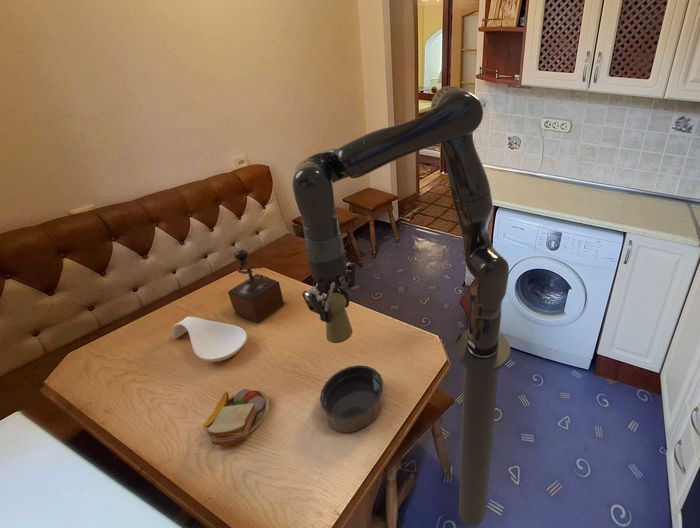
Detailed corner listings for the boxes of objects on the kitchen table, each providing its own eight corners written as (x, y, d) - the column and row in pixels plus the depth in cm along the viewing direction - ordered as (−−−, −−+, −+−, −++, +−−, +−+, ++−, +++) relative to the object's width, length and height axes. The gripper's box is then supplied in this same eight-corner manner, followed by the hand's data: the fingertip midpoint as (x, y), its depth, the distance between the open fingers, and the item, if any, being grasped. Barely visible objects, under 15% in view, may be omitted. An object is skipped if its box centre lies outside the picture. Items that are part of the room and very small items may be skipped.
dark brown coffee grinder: (287, 303, 118) (276, 257, 111) (257, 324, 109) (244, 276, 101) (253, 290, 123) (241, 246, 116) (223, 310, 114) (207, 263, 107)
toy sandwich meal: (280, 393, 88) (276, 380, 86) (250, 450, 76) (245, 436, 74) (229, 393, 88) (224, 379, 86) (190, 449, 75) (184, 435, 73)
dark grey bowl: (350, 371, 94) (348, 357, 92) (395, 391, 89) (394, 377, 87) (309, 418, 82) (306, 403, 80) (358, 444, 77) (356, 429, 75)
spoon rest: (258, 342, 102) (253, 323, 100) (220, 374, 92) (213, 354, 89) (199, 321, 109) (193, 302, 106) (158, 349, 99) (149, 329, 96)
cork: (353, 339, 84) (347, 303, 79) (326, 345, 82) (318, 308, 78) (352, 322, 89) (346, 286, 85) (326, 327, 87) (319, 291, 83)
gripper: (312, 273, 69) (325, 339, 76) (361, 240, 80) (368, 299, 88) (284, 263, 71) (299, 328, 78) (336, 232, 83) (345, 291, 90)
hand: (336, 312), depth 83 cm, fingers closed on cork, 5 cm apart
